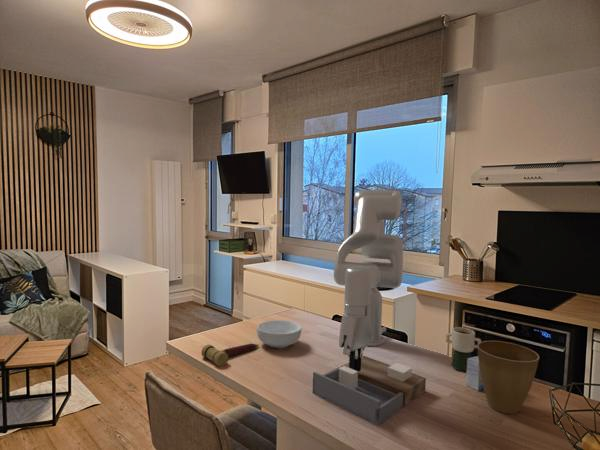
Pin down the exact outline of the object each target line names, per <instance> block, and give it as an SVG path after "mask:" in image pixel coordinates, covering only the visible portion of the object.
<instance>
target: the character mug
mask: <svg viewBox="0 0 600 450" xmlns="http://www.w3.org/2000/svg"><path fill="white" fill-rule="evenodd" d="M450 337H451V339H450ZM445 342H446V343H449V344H451V348H452V349H453V350H454V351H453V355H452V360H451V366H452V367H453V368H454V369H456V370H459V371H467V359H468V358H471V357H472V355H471V354H472V352H474V350H475V349H477V345H478V344H479V343H480V342H482V339H481V338H478V337H476V332H475V330H473V329H471V328H468V327H461V326H460V327H459V326H457V327H452V329H451V333H450V332H446V333H445ZM475 342H477V344H476V343H475Z"/></svg>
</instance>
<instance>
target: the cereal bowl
mask: <svg viewBox="0 0 600 450" xmlns="http://www.w3.org/2000/svg"><path fill="white" fill-rule="evenodd" d="M256 333H257V338H258V339H259V340H260V342H261V343H263V344H265V345H268V346H269V347H270V348H274V349H284V348H287V347H289V346H291V345H293V344H295V343H296V342H298V341H299V340H300V338H301V336H302V326H301V325H300V324H299V323H297V322H294V321H290V320H278V319H277V320H275V319H274V320H267V321H264V322H261V323H259V324H257V326H256Z"/></svg>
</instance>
